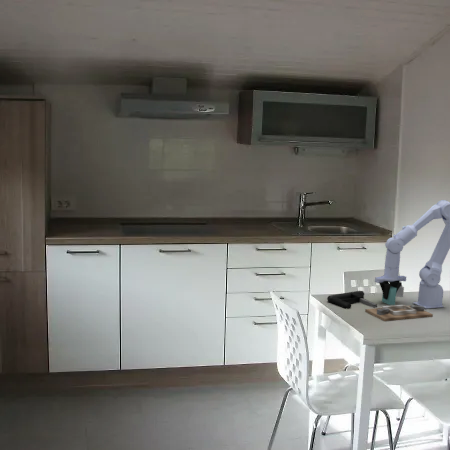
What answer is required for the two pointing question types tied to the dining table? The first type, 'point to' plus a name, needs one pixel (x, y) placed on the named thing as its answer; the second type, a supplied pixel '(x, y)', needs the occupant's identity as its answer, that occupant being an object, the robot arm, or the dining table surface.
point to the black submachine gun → (350, 299)
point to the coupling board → (399, 312)
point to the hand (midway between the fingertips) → (388, 298)
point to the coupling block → (390, 296)
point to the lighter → (400, 291)
